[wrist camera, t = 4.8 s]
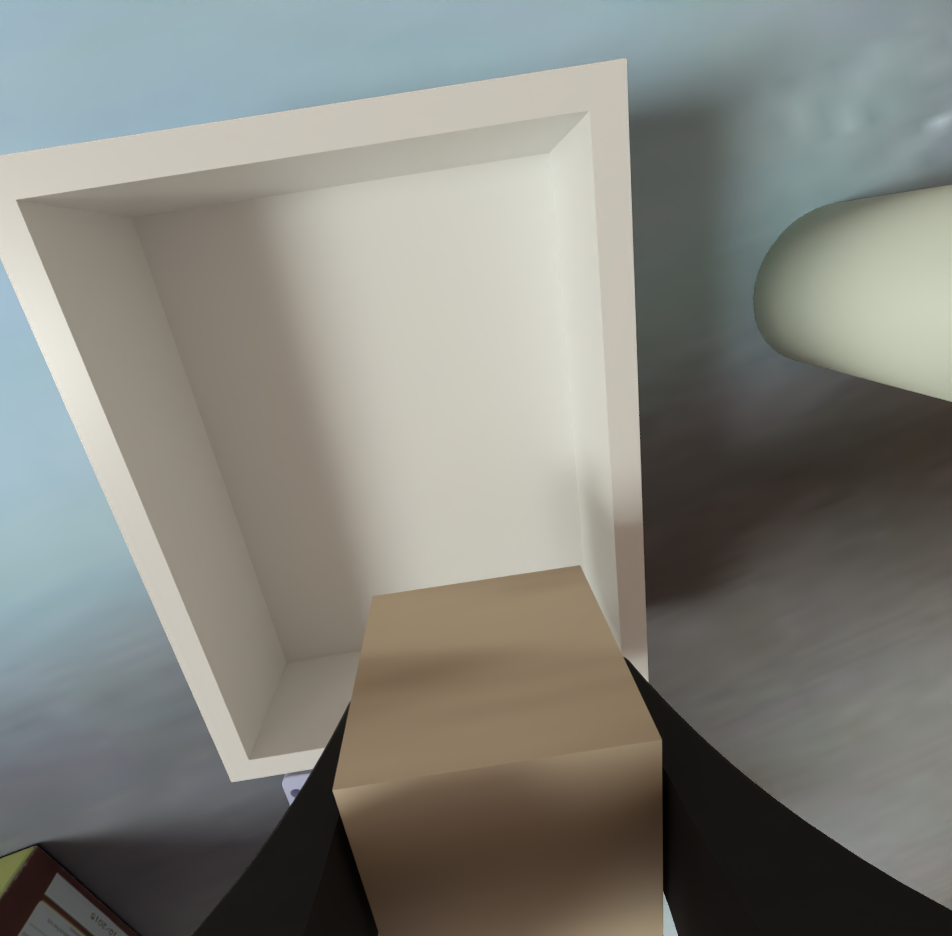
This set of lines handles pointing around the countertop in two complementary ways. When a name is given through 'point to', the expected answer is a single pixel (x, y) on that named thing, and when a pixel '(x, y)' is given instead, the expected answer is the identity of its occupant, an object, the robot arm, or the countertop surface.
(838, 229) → the sage cylinder
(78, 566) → the countertop surface
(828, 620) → the countertop surface
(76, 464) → the countertop surface
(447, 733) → the wooden cube
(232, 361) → the box
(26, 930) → the protein box
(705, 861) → the robot arm
